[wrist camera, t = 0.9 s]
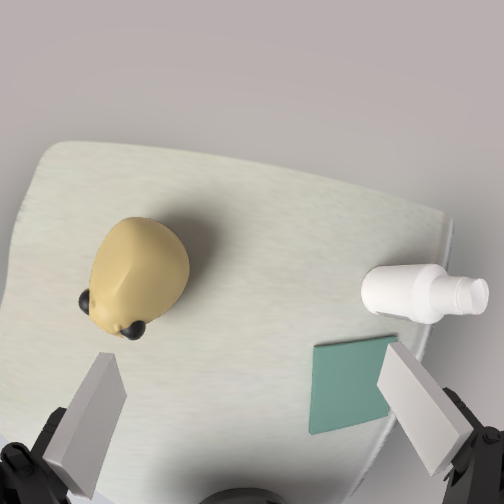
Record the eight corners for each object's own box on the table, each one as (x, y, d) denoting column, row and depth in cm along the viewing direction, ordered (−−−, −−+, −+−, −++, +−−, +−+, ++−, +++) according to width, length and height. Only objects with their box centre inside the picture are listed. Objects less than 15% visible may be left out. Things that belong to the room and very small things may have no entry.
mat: (384, 413, 38) (387, 415, 37) (308, 431, 36) (311, 434, 35) (393, 335, 39) (397, 336, 38) (313, 346, 37) (316, 348, 36)
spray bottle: (379, 324, 39) (477, 346, 21) (351, 293, 38) (451, 303, 20) (404, 287, 40) (502, 290, 22) (378, 256, 39) (479, 245, 22)
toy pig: (85, 294, 32) (46, 302, 21) (137, 211, 34) (116, 186, 23) (151, 341, 33) (135, 369, 22) (204, 257, 35) (210, 250, 24)
